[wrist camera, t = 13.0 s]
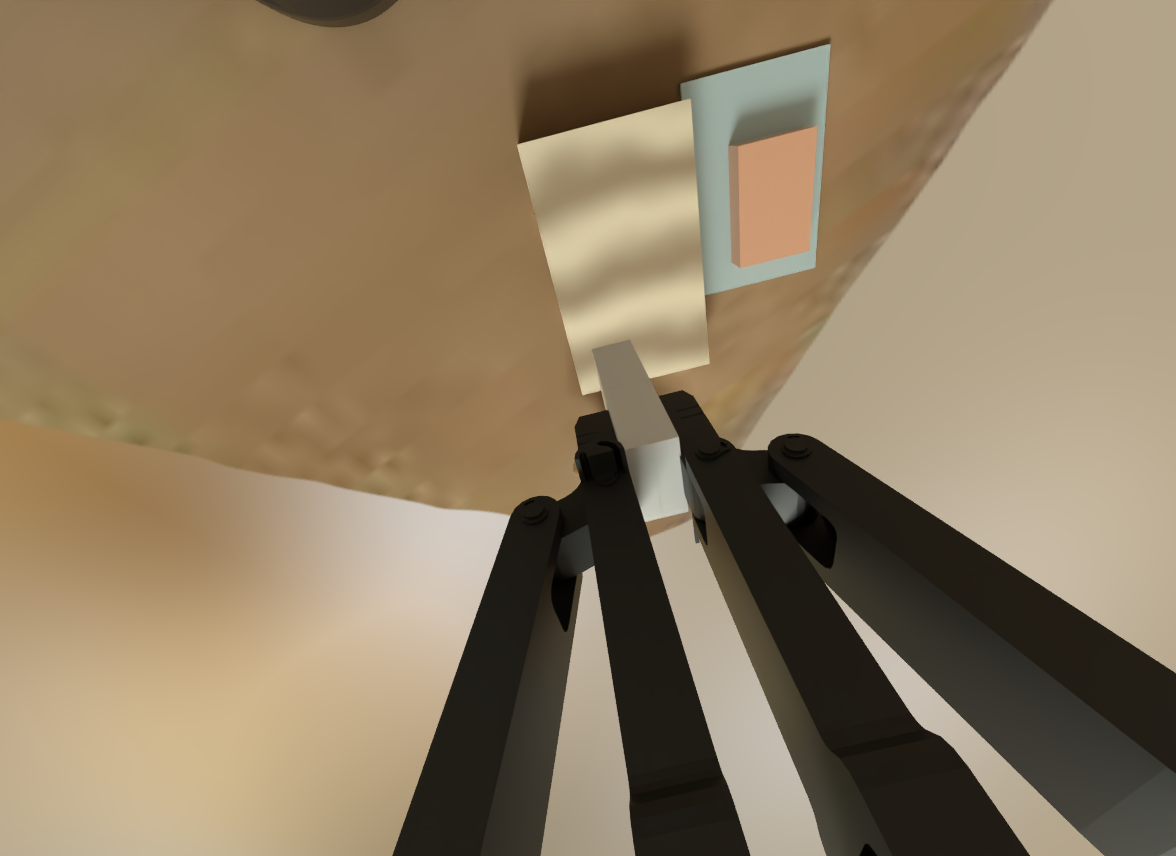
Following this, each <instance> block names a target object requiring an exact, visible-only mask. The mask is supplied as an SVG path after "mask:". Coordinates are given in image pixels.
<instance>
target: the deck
mask: <svg viewBox="0 0 1176 856" xmlns="http://www.w3.org/2000/svg"><path fill="white" fill-rule="evenodd" d="M517 147H518V151H519V154H520V158H521V162H522V166H523V170H524V174H525V177H526V181H527V185H528V189H529V193H530V197H531V200H532V204H533V208H534V212H535V216H536V219H537V223H538V227H539V231H540V235H541V239H542V242H543V246H544V250H545V254H546V258H547V261H548V265H549V269H550V273H551V277H552V281H553V284H554V288H555V292H556V296H557V300H558V304H559V307H560V311H561V315H562V319H563V323H564V326H565V330H566V334H567V338H568V342H569V346H570V349H571V353H572V357H573V361H574V365H575V368H576V372H577V376H578V380H579V384H580V388H581V391H582V395H586V394H590V393H594V392H598V391H601V388H600V384H599V379H598V375H597V371H596V366H595V362H594V358H593V354H592V349H594V348H598V347H602V346H606V345H610V344H614V343H618V342H622V341H626V340H630V341H631V343H632V345H633V347H634V349H635V351H636V353H637V355H638V357H639V359H640V361H641V363H642V365H643V367H644V369H645V371H646V373H647V375H648V377H649V379H650V378H654V377H658V376H662V375H666V374H670V373H674V372H678V371H682V370H686V369H690V368H694V367H698V366H702V365H706V364H709V350H708V336H707V322H706V307H705V293H704V279H703V265H702V251H701V237H700V222H699V208H698V194H697V180H696V166H695V152H694V137H693V123H692V109H691V99H686V100H682V101H678V102H674V103H670V104H666V105H663V106H659V107H655V108H651V109H648V110H644V111H640V112H636V113H633V114H629V115H625V116H621V117H617V118H614V119H610V120H606V121H602V122H599V123H595V124H591V125H587V126H584V127H580V128H576V129H572V130H569V131H565V132H561V133H557V134H554V135H550V136H546V137H542V138H539V139H535V140H531V141H527V142H524V143H520V144H517Z"/></svg>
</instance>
